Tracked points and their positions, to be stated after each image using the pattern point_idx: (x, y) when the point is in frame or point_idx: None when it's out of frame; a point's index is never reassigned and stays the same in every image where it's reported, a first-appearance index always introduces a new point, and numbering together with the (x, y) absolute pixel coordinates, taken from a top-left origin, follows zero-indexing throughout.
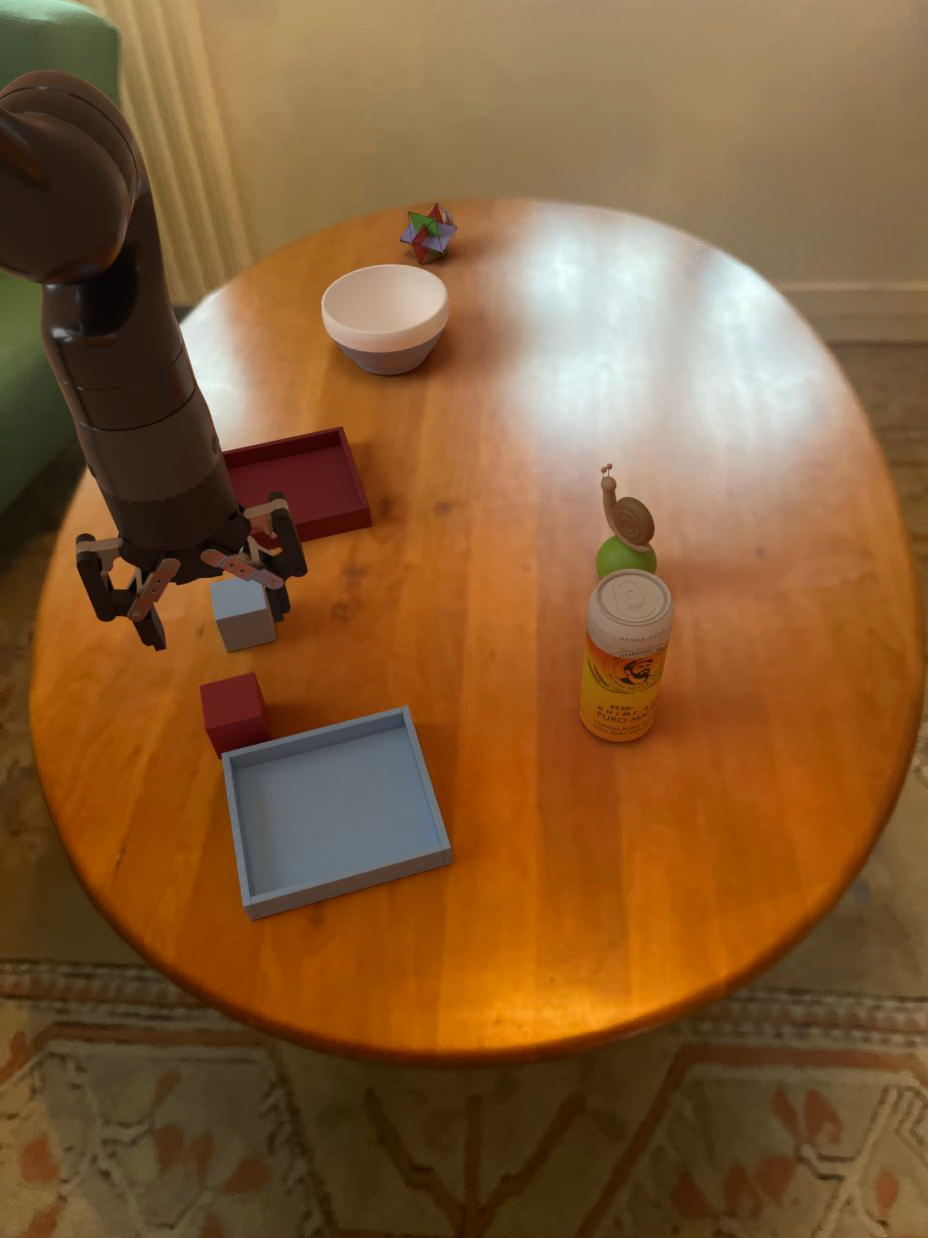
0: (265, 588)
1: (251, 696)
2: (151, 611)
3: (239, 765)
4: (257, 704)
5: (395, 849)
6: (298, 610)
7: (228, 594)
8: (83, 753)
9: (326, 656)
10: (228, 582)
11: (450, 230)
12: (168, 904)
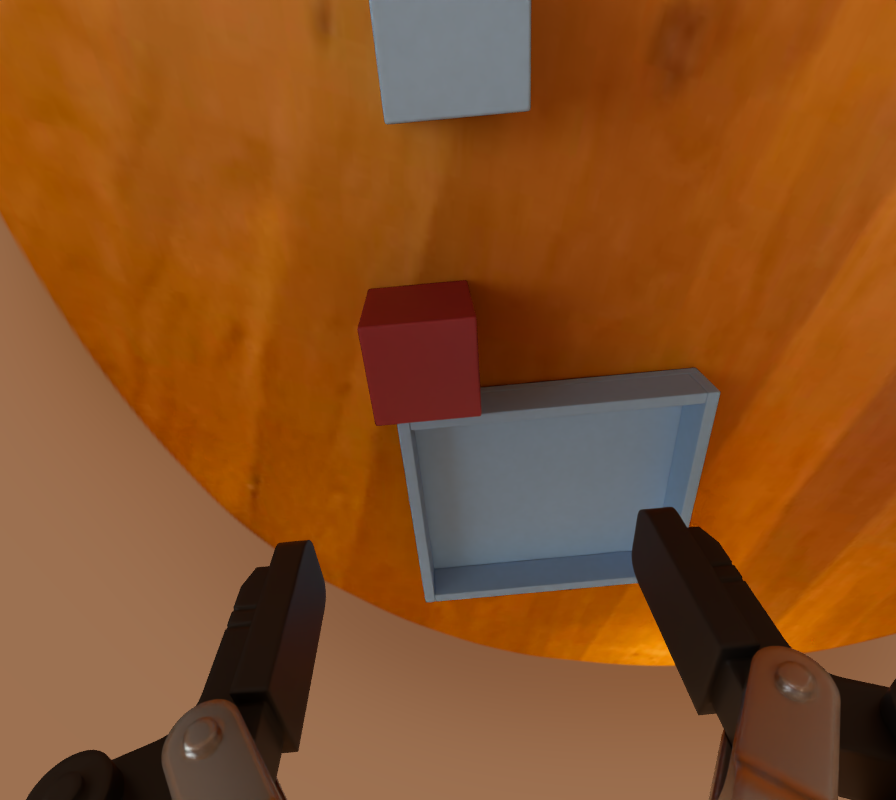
0: (703, 708)
1: (465, 376)
2: (289, 728)
3: None
4: (475, 394)
5: (605, 536)
6: (576, 4)
7: (424, 13)
8: (135, 318)
9: (604, 186)
10: None
11: None
12: (329, 543)
